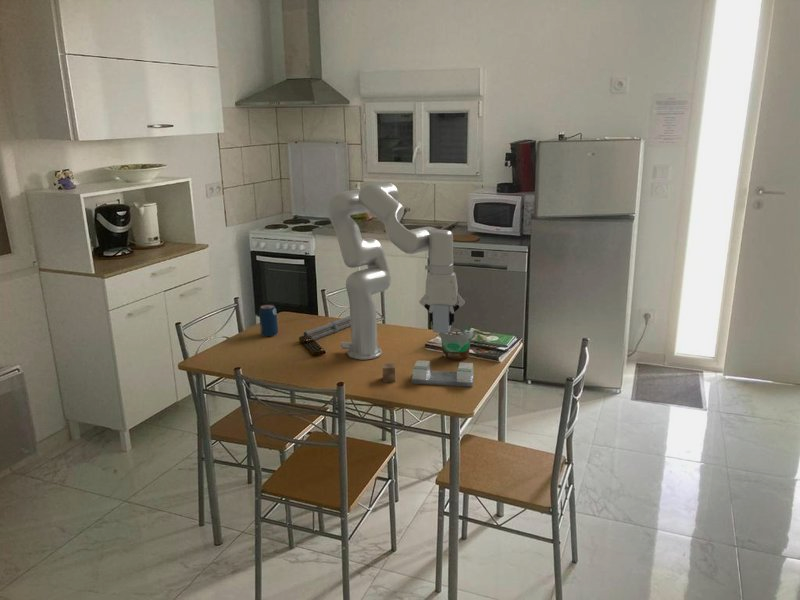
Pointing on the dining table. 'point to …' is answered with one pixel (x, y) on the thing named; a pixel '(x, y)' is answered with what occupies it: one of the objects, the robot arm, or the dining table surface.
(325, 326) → the metal rod assembly
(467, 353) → the food container
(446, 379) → the rail
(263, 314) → the soda can
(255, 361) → the dining table surface
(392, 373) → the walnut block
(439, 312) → the grey-blue module block
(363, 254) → the robot arm
